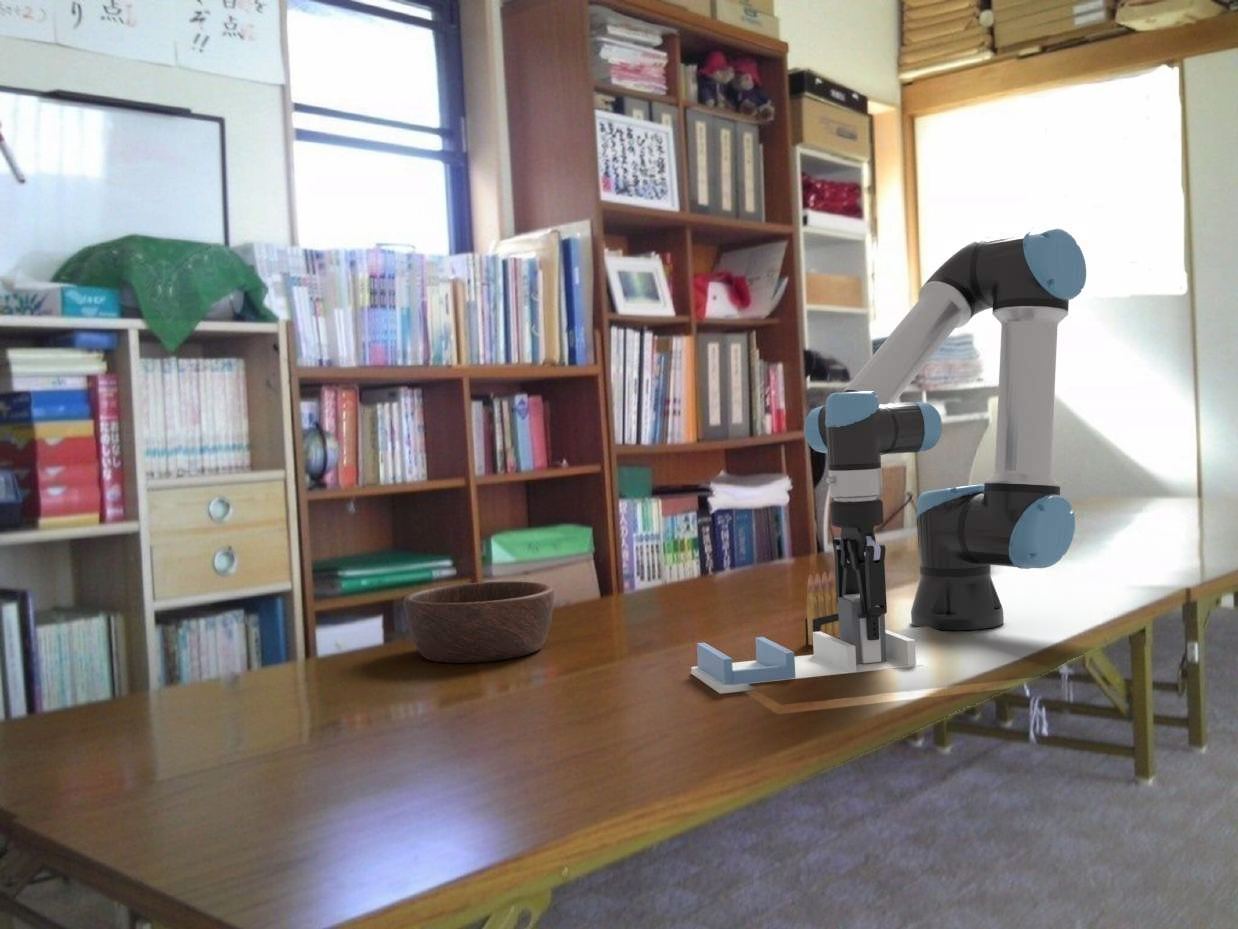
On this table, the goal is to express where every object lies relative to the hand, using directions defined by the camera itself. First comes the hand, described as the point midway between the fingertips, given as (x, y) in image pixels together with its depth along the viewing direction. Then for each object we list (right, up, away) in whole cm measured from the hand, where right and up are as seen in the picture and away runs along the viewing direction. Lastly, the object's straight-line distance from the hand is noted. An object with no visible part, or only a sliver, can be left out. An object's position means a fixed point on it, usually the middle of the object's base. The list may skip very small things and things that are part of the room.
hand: (863, 658), depth 182 cm
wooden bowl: (-58, -4, +28) cm, 65 cm away
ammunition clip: (-2, -1, +17) cm, 17 cm away
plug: (0, 0, 0) cm, 0 cm away
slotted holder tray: (-9, -2, -2) cm, 9 cm away
